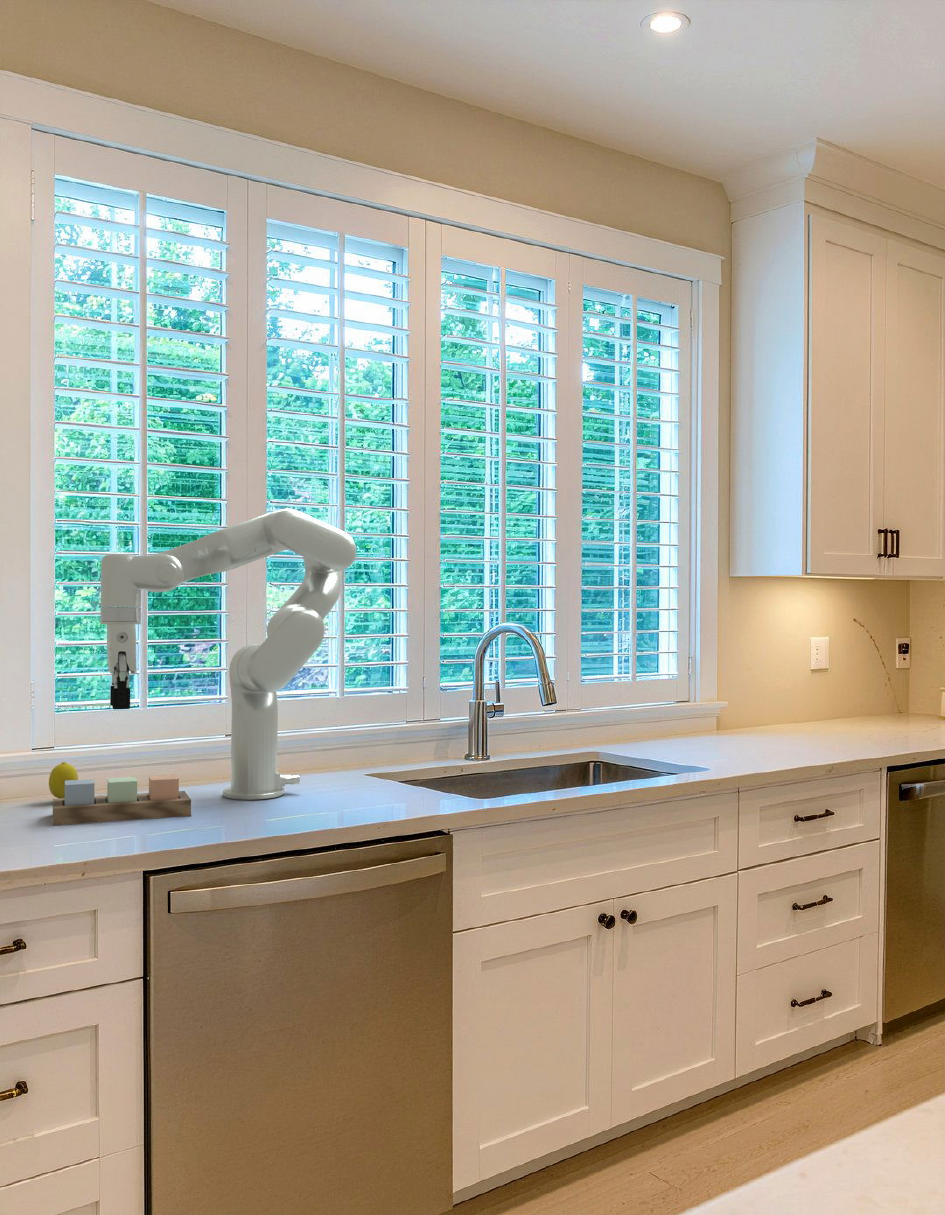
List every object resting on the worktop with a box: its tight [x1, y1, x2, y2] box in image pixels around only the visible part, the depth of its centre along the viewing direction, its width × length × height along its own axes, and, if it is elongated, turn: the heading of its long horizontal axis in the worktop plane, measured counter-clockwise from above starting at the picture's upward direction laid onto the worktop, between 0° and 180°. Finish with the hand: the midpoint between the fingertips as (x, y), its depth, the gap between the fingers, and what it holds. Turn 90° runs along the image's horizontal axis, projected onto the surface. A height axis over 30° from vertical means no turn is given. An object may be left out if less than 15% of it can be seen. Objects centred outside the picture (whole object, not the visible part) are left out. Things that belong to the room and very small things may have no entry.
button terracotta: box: [148, 774, 180, 800], centre depth 189 cm, size 5×5×5 cm
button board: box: [52, 790, 192, 826], centre depth 186 cm, size 24×10×3 cm, turn 113°
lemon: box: [48, 761, 79, 799], centre depth 198 cm, size 6×6×8 cm
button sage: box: [106, 776, 138, 803], centre depth 186 cm, size 5×5×5 cm
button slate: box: [65, 778, 95, 806], centre depth 183 cm, size 5×5×5 cm
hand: (120, 706), depth 194 cm, fingers open, 6 cm apart
